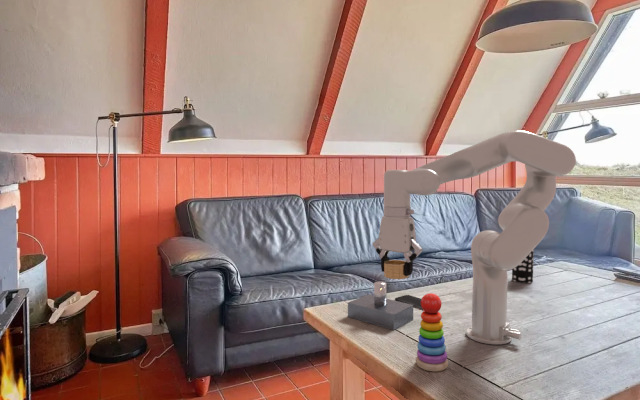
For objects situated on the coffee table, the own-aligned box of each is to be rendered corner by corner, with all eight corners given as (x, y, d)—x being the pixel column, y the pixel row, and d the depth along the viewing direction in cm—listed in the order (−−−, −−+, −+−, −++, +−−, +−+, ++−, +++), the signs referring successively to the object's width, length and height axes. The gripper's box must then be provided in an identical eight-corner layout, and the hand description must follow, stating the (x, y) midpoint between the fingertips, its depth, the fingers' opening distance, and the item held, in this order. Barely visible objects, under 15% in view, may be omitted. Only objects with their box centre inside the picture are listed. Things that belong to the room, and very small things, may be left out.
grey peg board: (413, 319, 143) (413, 284, 142) (393, 330, 134) (394, 292, 133) (368, 308, 155) (368, 275, 154) (347, 317, 146) (347, 282, 145)
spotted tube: (507, 279, 193) (508, 234, 191) (522, 277, 195) (524, 233, 194) (521, 283, 185) (523, 237, 183) (537, 282, 187) (538, 236, 186)
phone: (407, 294, 168) (439, 304, 157) (407, 297, 169) (439, 307, 157) (393, 298, 164) (424, 308, 152) (393, 301, 164) (424, 311, 152)
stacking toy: (424, 355, 116) (425, 287, 114) (453, 364, 111) (454, 292, 109) (410, 366, 110) (410, 294, 108) (440, 376, 105) (441, 300, 103)
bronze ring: (413, 275, 127) (413, 262, 127) (400, 280, 122) (400, 266, 121) (392, 271, 131) (392, 258, 131) (379, 276, 126) (379, 263, 126)
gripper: (430, 213, 122) (429, 275, 124) (378, 209, 134) (378, 266, 135) (417, 215, 117) (416, 280, 118) (364, 211, 128) (364, 270, 129)
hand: (396, 272), depth 126 cm, fingers closed on bronze ring, 7 cm apart
